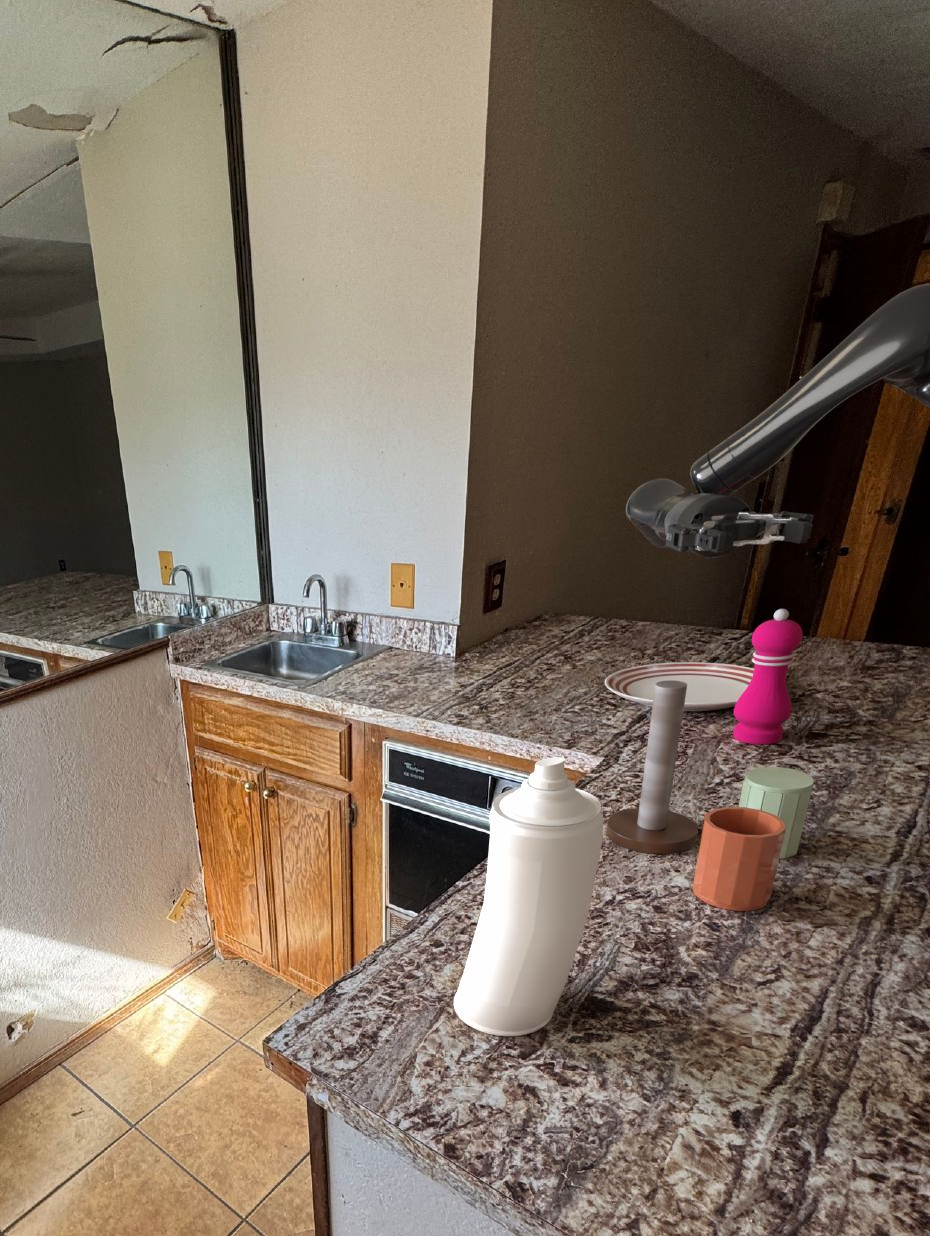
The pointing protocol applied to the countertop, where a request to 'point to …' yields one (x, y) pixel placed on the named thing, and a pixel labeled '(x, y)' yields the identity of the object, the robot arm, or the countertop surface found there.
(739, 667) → the dinner plate
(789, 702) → the pepper mill
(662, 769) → the towel holder
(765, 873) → the cup
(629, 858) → the countertop surface
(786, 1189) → the countertop surface
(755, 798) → the cup
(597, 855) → the spray can
